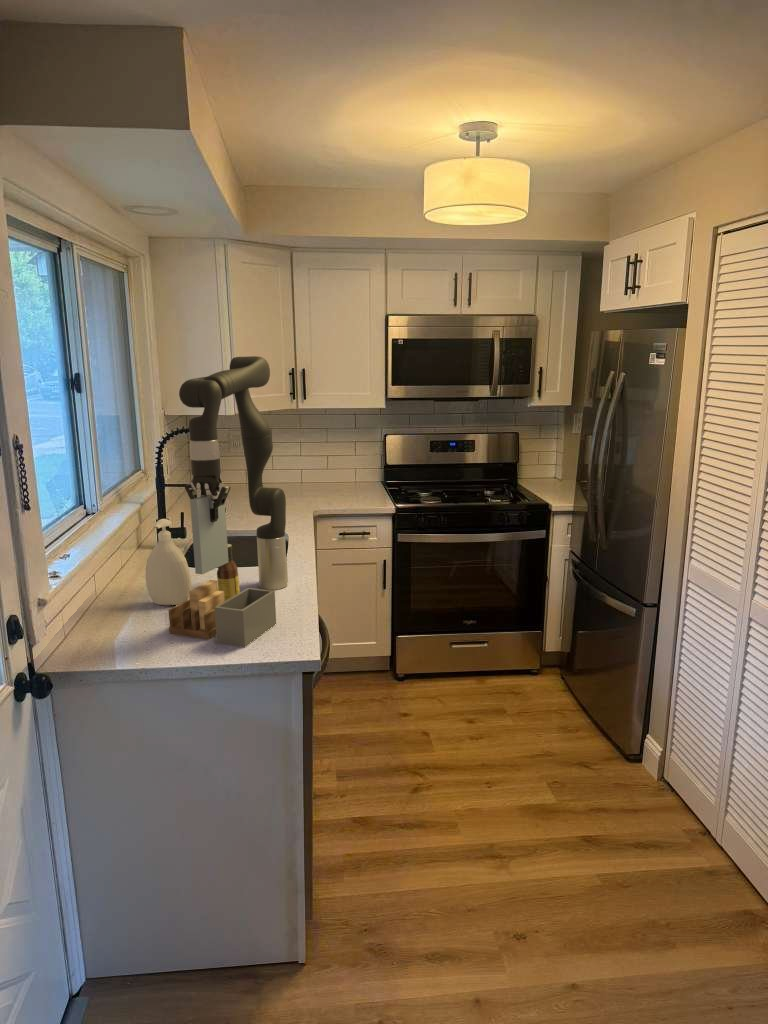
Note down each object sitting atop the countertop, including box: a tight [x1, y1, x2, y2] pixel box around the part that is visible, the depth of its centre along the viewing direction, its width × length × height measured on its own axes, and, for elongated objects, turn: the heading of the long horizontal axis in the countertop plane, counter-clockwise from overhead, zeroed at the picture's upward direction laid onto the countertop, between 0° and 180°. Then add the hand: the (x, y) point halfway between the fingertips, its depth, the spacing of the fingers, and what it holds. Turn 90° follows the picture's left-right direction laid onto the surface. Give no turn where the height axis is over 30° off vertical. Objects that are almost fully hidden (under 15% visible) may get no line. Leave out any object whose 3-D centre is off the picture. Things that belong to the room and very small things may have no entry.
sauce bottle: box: [216, 543, 241, 601], centre depth 199 cm, size 6×6×20 cm
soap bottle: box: [145, 518, 192, 607], centre depth 202 cm, size 14×8×27 cm, turn 81°
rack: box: [167, 598, 216, 640], centre depth 185 cm, size 14×13×7 cm
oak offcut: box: [189, 579, 218, 625], centre depth 186 cm, size 10×2×10 cm, turn 160°
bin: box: [214, 587, 277, 648], centre depth 180 cm, size 17×9×10 cm, turn 160°
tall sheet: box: [189, 491, 229, 575], centre depth 179 cm, size 12×2×20 cm, turn 159°
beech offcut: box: [198, 591, 225, 630], centre depth 183 cm, size 9×2×8 cm, turn 160°
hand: (209, 520), depth 178 cm, fingers closed on tall sheet, 2 cm apart
